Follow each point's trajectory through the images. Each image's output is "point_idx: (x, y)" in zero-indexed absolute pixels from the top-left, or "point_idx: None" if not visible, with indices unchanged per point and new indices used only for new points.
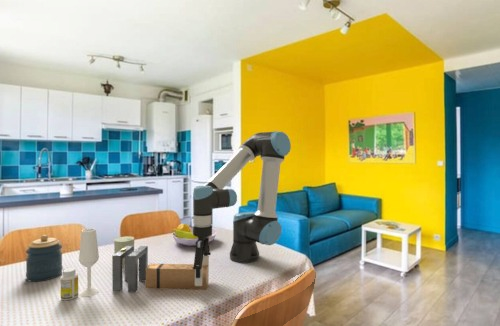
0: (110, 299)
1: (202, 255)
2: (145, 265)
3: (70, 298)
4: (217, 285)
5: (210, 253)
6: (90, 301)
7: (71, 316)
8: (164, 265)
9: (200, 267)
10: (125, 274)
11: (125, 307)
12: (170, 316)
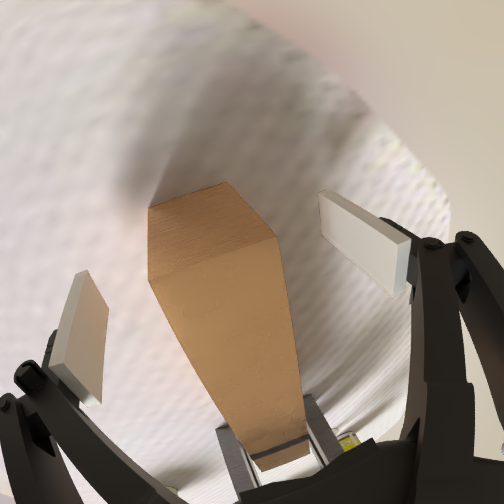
0: (349, 398)
1: (460, 332)
2: (248, 471)
3: (353, 433)
4: (144, 142)
5: (23, 373)
6: (357, 411)
7: (404, 385)
8: (269, 445)
9: (473, 237)
10: (252, 462)
11: (387, 349)
12: (435, 215)
